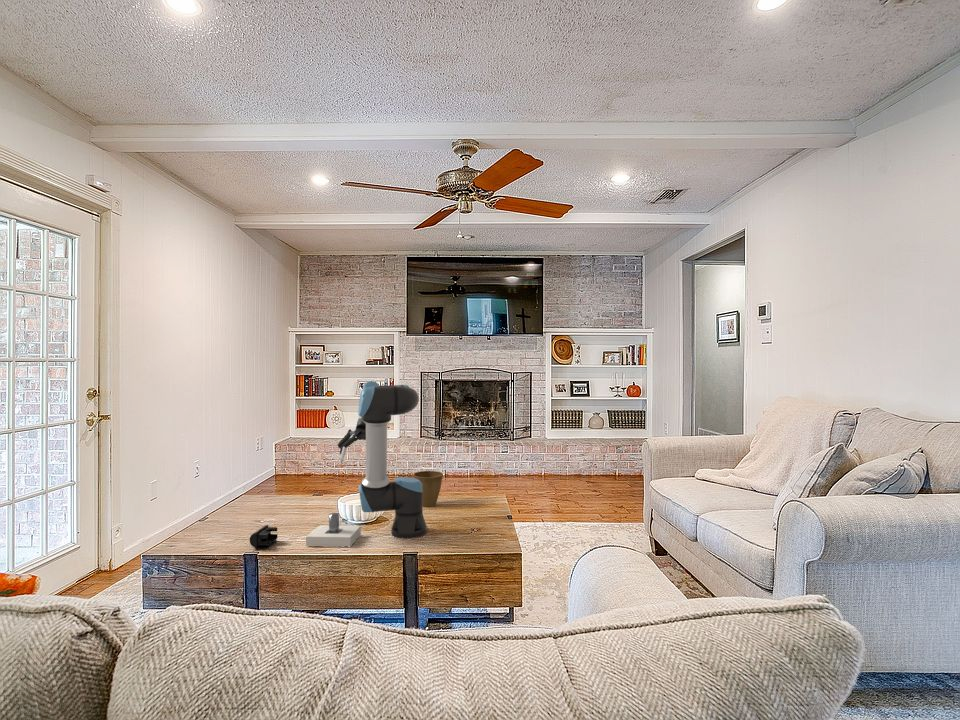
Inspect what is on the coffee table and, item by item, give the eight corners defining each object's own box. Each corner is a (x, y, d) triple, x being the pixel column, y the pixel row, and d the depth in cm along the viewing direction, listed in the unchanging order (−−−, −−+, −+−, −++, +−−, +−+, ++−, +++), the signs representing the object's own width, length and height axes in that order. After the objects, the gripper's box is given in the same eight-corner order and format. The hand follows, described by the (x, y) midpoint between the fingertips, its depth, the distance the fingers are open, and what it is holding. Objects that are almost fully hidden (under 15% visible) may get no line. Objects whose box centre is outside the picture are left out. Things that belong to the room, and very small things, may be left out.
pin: (340, 539, 221) (340, 512, 221) (337, 542, 217) (336, 515, 217) (331, 539, 222) (330, 512, 222) (327, 542, 218) (327, 515, 218)
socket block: (360, 535, 226) (360, 525, 226) (350, 547, 212) (350, 537, 212) (319, 534, 227) (319, 525, 227) (306, 546, 213) (306, 536, 213)
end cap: (261, 540, 221) (261, 524, 221) (278, 541, 220) (277, 524, 220) (249, 549, 211) (249, 532, 211) (266, 550, 210) (266, 532, 210)
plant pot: (410, 508, 264) (409, 476, 264) (418, 500, 279) (417, 470, 278) (439, 510, 261) (438, 477, 261) (446, 501, 276) (445, 470, 276)
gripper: (392, 427, 254) (385, 465, 239) (341, 427, 256) (331, 465, 241) (390, 417, 249) (382, 455, 234) (337, 417, 251) (326, 455, 236)
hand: (356, 460), depth 237 cm, fingers open, 13 cm apart
